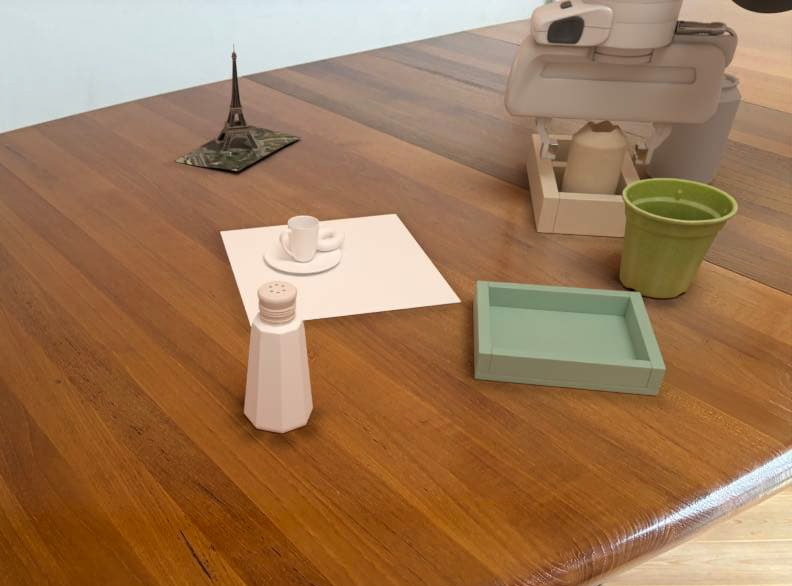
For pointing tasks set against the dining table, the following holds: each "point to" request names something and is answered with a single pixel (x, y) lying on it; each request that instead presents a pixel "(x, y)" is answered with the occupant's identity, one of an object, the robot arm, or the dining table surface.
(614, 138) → the candle
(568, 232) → the holder
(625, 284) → the plant pot
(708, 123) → the can
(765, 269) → the dining table surface
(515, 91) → the robot arm
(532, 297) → the tray
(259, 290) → the pepper shaker
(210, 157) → the eiffel tower figurine
